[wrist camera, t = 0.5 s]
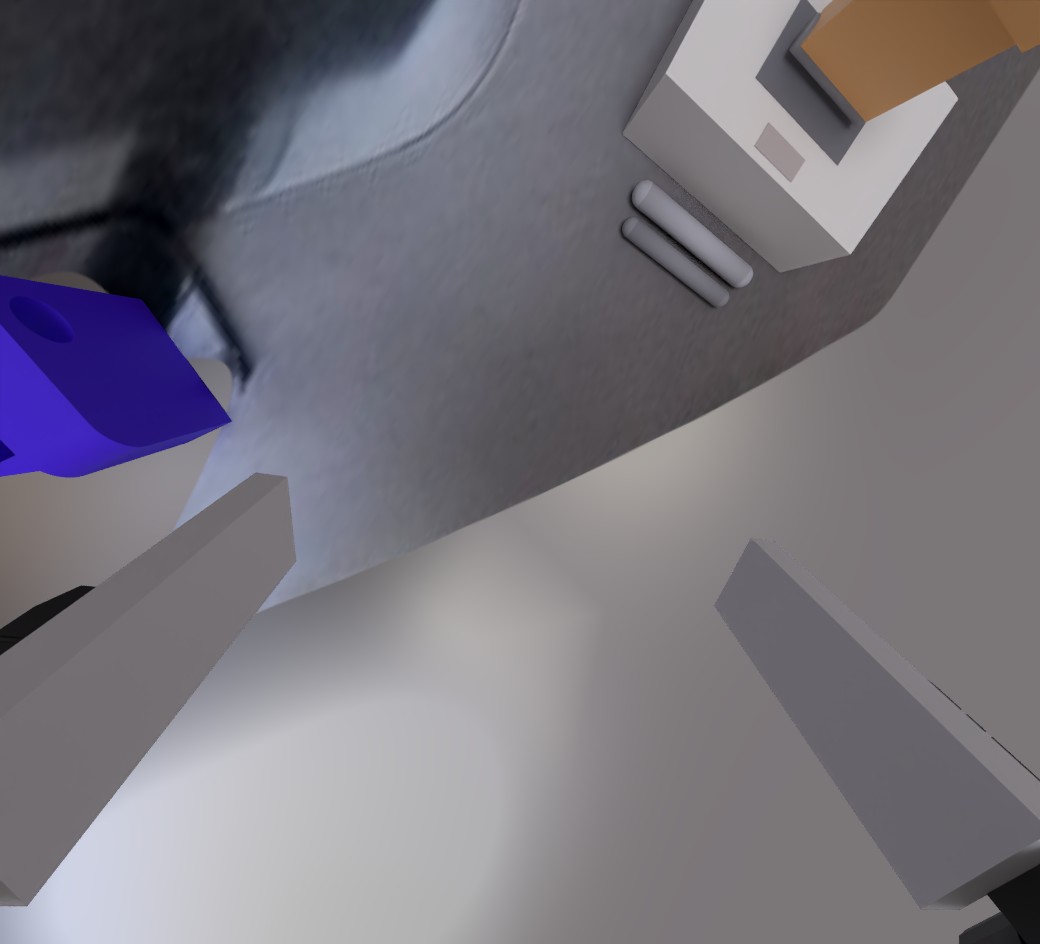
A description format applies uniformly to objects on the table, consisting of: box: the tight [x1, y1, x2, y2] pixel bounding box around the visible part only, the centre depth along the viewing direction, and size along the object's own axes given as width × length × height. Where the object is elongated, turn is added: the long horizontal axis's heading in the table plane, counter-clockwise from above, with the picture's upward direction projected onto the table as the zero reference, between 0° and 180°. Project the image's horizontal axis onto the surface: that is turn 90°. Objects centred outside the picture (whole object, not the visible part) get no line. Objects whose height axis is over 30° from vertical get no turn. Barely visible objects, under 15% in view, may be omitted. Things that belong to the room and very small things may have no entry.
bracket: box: [0, 275, 232, 477], centre depth 26 cm, size 18×11×12 cm, turn 114°
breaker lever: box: [789, 0, 1040, 127], centre depth 20 cm, size 3×8×11 cm, turn 60°
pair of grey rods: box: [622, 180, 753, 307], centre depth 33 cm, size 4×14×2 cm, turn 60°
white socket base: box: [622, 0, 958, 273], centre depth 29 cm, size 12×20×7 cm, turn 60°
